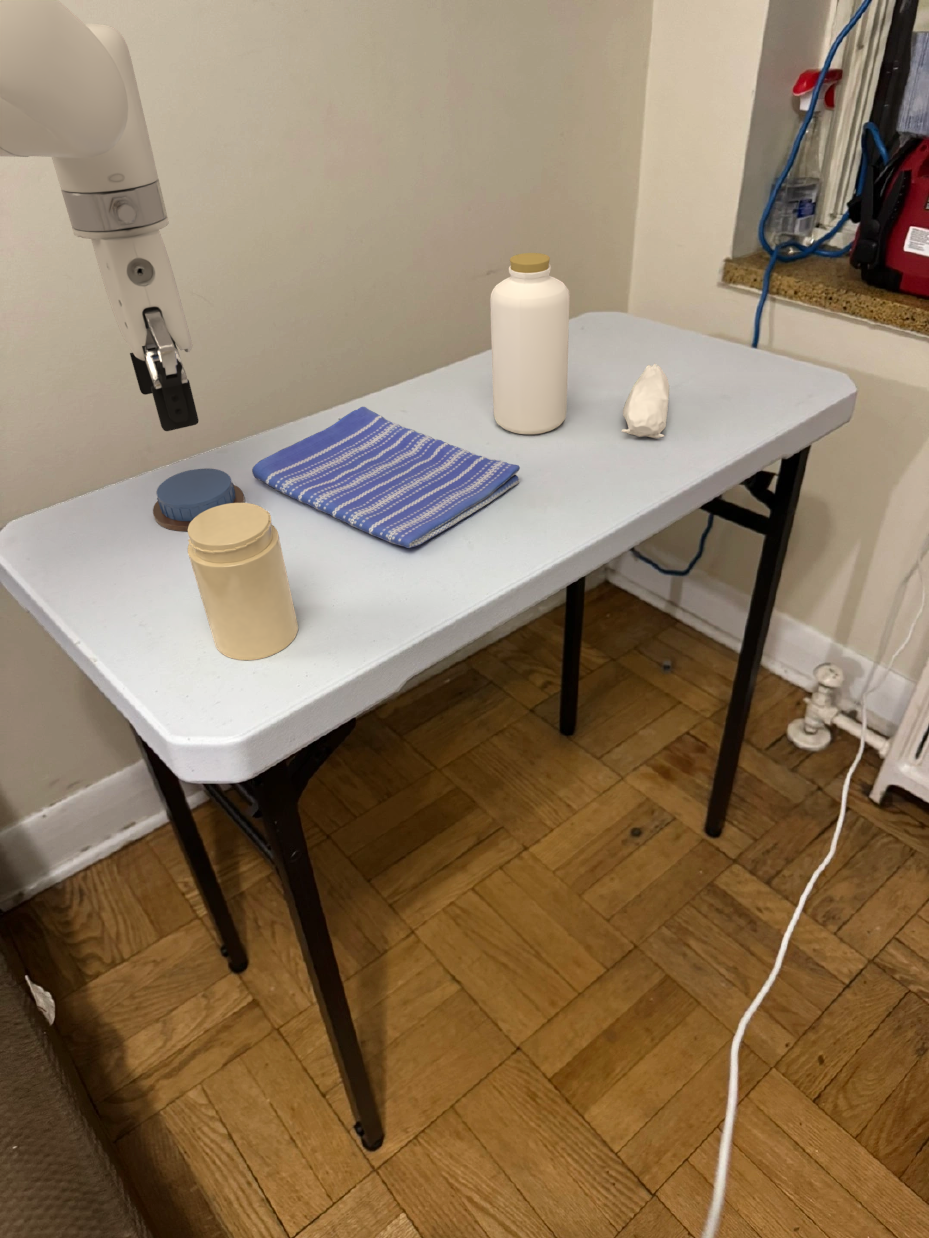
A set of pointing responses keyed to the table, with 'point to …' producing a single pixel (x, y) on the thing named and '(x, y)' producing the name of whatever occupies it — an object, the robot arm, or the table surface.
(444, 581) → the table surface
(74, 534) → the table surface
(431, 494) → the dish towel
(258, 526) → the jar
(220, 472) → the lid
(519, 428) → the potion bottle
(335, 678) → the table surface
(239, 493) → the coaster
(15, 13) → the robot arm
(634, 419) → the bird figurine
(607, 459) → the table surface
